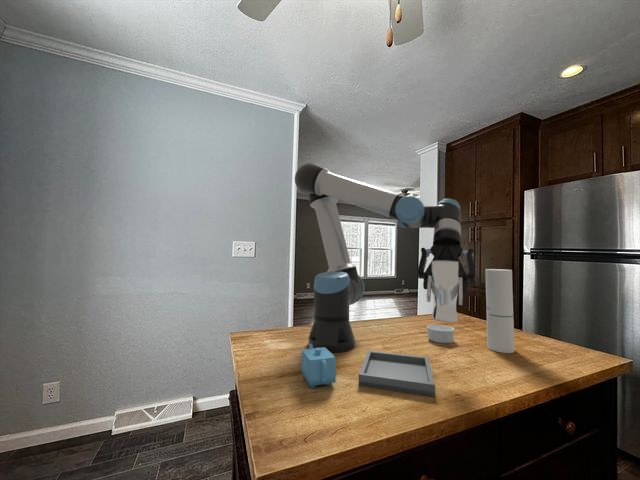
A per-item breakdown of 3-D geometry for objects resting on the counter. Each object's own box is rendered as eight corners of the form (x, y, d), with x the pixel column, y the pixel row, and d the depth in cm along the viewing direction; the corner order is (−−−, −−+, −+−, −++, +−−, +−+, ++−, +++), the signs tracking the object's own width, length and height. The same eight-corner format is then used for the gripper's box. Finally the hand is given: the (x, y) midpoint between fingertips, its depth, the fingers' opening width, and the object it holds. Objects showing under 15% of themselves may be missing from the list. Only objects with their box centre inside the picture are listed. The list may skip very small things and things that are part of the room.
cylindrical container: (505, 345, 89) (503, 269, 90) (519, 353, 82) (517, 270, 83) (483, 344, 90) (481, 269, 91) (494, 352, 83) (492, 270, 84)
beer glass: (457, 316, 72) (457, 260, 73) (462, 324, 66) (462, 262, 66) (429, 314, 74) (429, 260, 75) (431, 321, 68) (431, 261, 68)
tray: (358, 385, 61) (358, 374, 61) (367, 359, 76) (367, 350, 76) (435, 397, 56) (435, 384, 56) (428, 366, 72) (428, 357, 72)
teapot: (297, 371, 69) (298, 340, 69) (320, 367, 71) (320, 338, 71) (311, 394, 57) (312, 358, 58) (338, 389, 59) (338, 354, 60)
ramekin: (421, 338, 97) (421, 325, 97) (439, 335, 101) (438, 323, 101) (442, 345, 89) (442, 332, 89) (460, 342, 93) (460, 329, 93)
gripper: (483, 246, 80) (489, 313, 65) (414, 245, 89) (405, 304, 74) (485, 227, 75) (491, 295, 60) (412, 228, 84) (401, 287, 69)
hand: (444, 300), depth 67 cm, fingers closed on beer glass, 7 cm apart
